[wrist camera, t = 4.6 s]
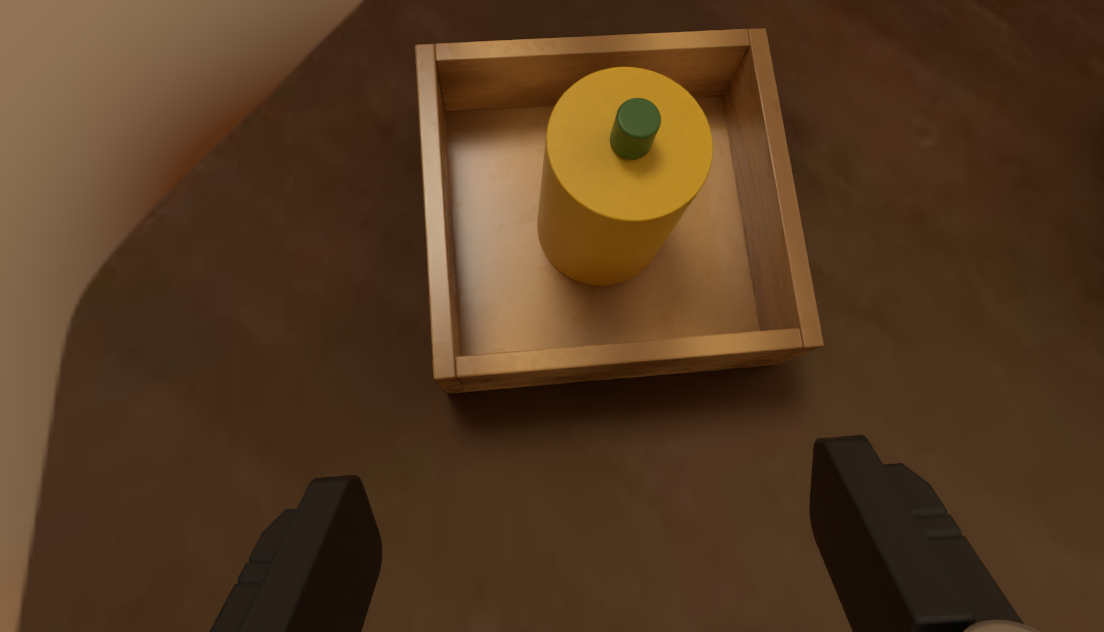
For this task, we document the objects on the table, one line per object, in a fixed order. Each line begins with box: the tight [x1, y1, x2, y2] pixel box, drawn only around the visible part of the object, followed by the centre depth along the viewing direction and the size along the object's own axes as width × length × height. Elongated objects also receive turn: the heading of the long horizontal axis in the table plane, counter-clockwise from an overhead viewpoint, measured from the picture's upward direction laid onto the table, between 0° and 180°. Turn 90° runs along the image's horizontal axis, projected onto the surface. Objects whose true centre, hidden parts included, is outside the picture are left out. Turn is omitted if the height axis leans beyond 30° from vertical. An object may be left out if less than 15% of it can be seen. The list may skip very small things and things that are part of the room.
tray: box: [415, 28, 824, 394], centre depth 29 cm, size 15×14×5 cm
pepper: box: [537, 67, 713, 286], centre depth 25 cm, size 6×6×10 cm
